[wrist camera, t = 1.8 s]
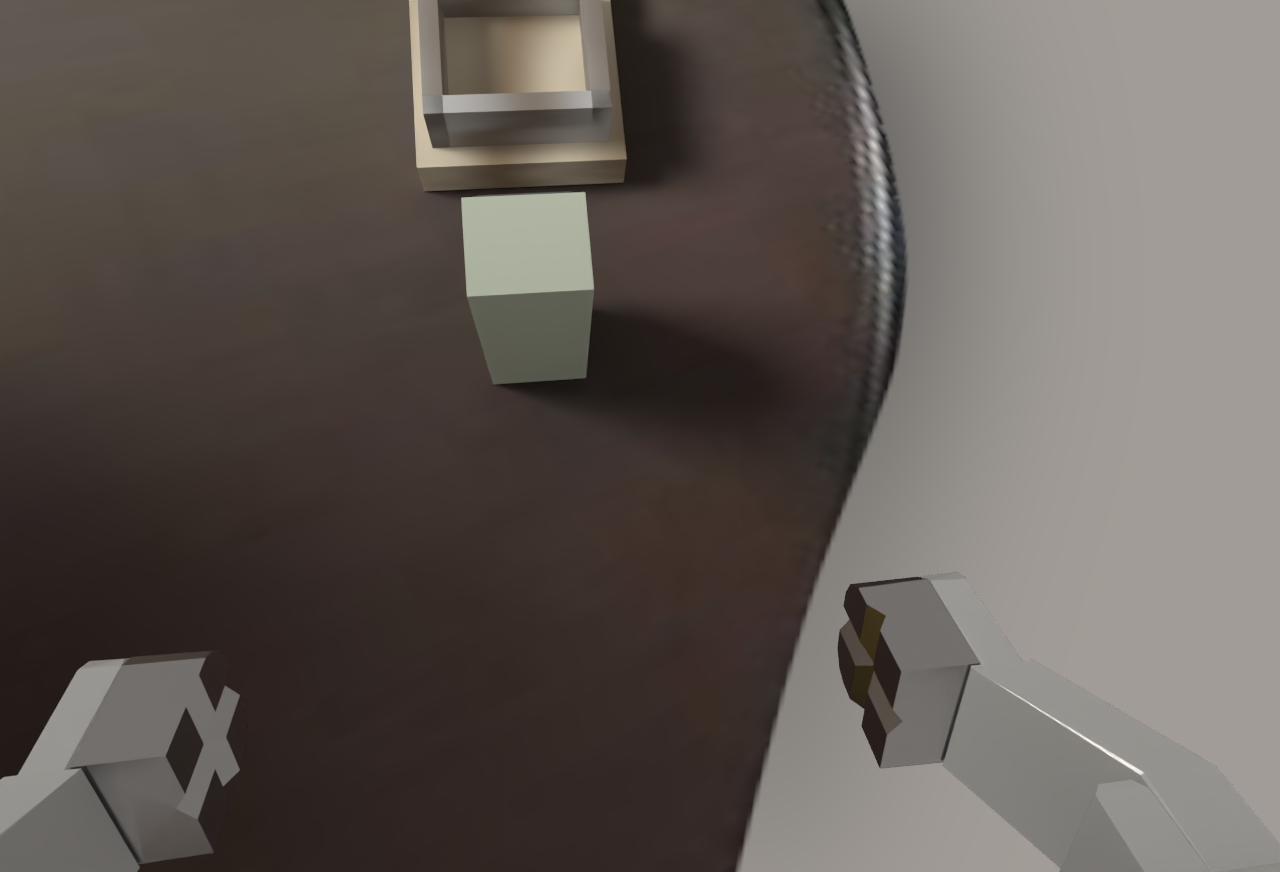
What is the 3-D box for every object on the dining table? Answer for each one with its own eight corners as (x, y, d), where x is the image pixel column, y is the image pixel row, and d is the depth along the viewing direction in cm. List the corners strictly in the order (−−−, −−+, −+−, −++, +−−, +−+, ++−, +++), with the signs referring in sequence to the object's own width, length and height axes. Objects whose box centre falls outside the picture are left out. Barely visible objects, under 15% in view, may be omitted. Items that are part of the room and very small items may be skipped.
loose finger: (492, 384, 36) (467, 296, 26) (487, 297, 37) (460, 180, 27) (585, 378, 37) (593, 289, 27) (578, 291, 37) (583, 175, 28)
